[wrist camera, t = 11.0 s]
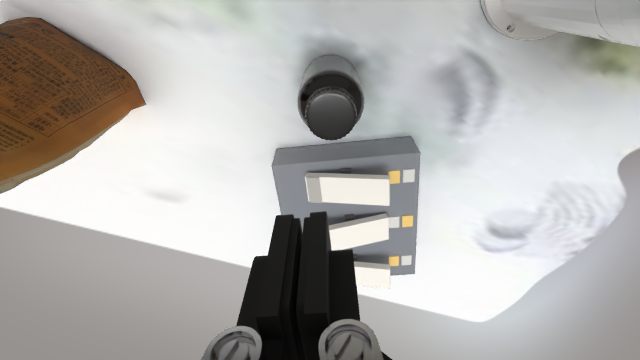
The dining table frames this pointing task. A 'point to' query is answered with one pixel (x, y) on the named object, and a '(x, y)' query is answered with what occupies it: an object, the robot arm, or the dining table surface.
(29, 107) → the pancake mix bag
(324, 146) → the console
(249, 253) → the dining table surface
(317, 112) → the supplement bottle
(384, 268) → the rocker
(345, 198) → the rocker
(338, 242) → the rocker
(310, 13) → the dining table surface
